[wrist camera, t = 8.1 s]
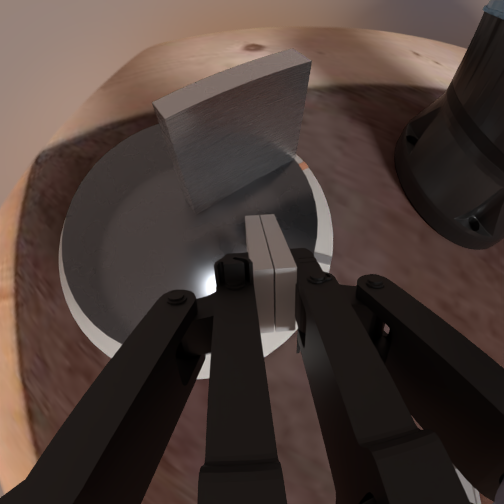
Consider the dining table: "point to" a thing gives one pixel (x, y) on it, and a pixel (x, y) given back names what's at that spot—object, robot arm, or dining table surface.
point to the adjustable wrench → (469, 489)
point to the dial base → (268, 339)
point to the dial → (190, 191)
